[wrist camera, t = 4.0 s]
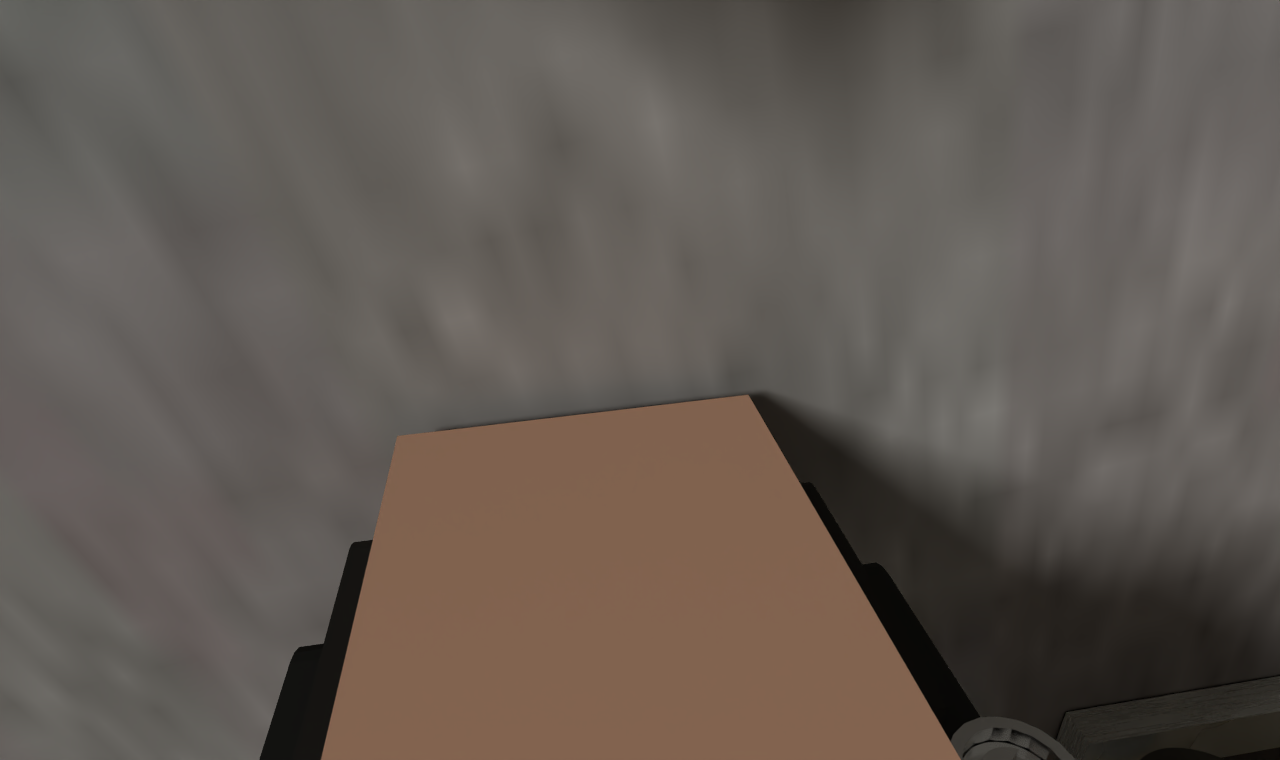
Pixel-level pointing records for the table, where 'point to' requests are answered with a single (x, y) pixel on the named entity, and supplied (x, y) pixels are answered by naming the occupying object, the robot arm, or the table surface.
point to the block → (616, 603)
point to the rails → (1179, 723)
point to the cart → (1179, 755)
